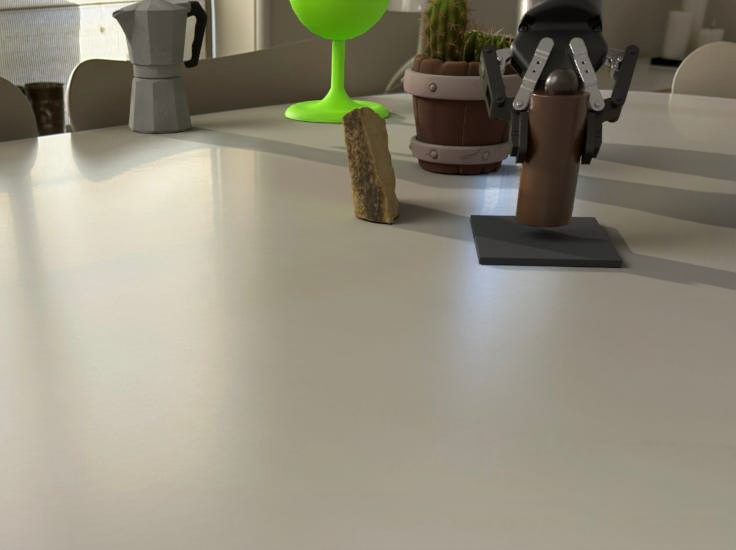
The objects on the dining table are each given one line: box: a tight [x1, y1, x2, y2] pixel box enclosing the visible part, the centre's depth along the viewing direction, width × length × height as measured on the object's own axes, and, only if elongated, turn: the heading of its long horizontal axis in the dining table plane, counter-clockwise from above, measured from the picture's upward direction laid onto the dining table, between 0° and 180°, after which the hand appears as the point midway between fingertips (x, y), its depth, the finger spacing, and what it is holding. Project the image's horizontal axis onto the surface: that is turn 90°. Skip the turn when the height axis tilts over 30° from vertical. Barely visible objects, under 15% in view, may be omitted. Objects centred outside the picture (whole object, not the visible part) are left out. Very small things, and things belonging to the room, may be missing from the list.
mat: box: [469, 214, 623, 268], centre depth 97 cm, size 12×16×1 cm
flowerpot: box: [400, 0, 522, 175], centre depth 122 cm, size 14×15×20 cm
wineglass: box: [284, 0, 392, 124], centre depth 158 cm, size 16×16×18 cm
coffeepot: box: [111, 0, 208, 134], centre depth 149 cm, size 15×9×18 cm, turn 128°
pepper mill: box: [514, 67, 590, 227], centre depth 93 cm, size 5×5×12 cm
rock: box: [341, 107, 400, 225], centre depth 107 cm, size 11×9×10 cm
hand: (554, 157), depth 92 cm, fingers closed on pepper mill, 5 cm apart
